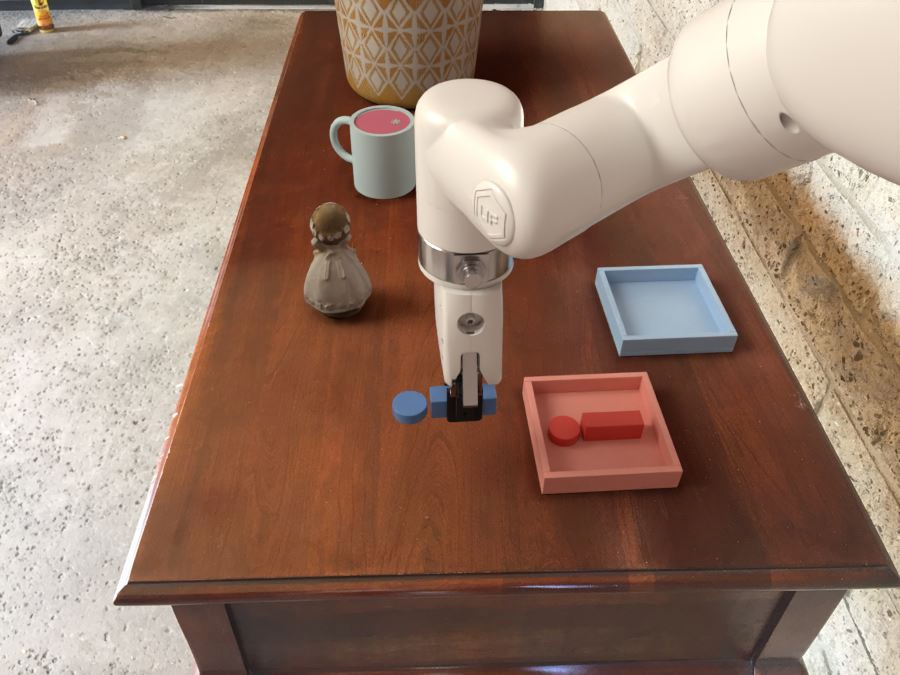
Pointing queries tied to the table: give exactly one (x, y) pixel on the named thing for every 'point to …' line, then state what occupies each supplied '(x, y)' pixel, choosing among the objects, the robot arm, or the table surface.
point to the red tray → (602, 459)
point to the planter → (407, 46)
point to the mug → (380, 150)
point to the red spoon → (596, 427)
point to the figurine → (335, 266)
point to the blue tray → (664, 310)
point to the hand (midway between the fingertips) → (462, 407)
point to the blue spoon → (435, 404)
